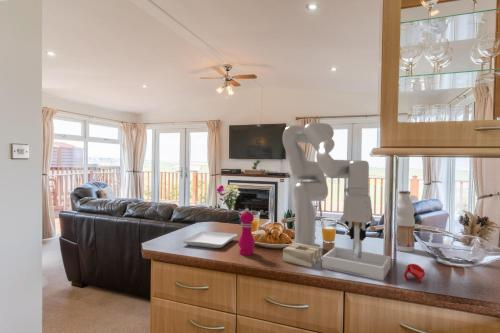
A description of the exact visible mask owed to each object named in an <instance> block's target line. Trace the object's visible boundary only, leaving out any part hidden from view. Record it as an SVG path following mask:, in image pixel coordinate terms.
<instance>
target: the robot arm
mask: <svg viewBox="0 0 500 333" xmlns="http://www.w3.org/2000/svg"><path fill="white" fill-rule="evenodd" d="M333 138H334V128H333V127H332V125H330V124H329V123H325V122H317V121H316V122H315V121H314V122H308V123H306V125H298V124H297V125H296V124H294V125H289V126H287V127H285V129H284V130H283V133H282V145H283V148H284V150H285V153H286V155H287V158H288V164H289V167H290V170H291V171H290V172H291V174H292V177H293V179H295V180H297V181H301V182H297V183H295V185H294V186H293V198H294V208H295V209H294V210H295V211H294V212H295V213H294V215H295V216H294V242H295V243H299V244H305V245H310V246H316V247H319V245H318V244H317V243H316V242H315V240H316V239H317V237H316V208H315V206H314V205H313V202H315V201H318V202H319V201H324V200H326V199H327V197H328V195H329V187H328V184H327V183H328V182H327V179H326V176H327V177H328V178H330V179H347V186H348V187H347V188H343V189H344V190H343V191H344V192H345V193H347V194H346V195H345V197H344V201H343V202H344V203H343V211H342V216H341V217H340V222H342V223H344V224H345V225H346V226H347V227H348V229H349V232H348V234H349V235H348V236H349V237H350V240H353V222H361V223H362V230H361V241H362V242H363V241H364V240H365V239H367V238H366V237H367V229H369V228H370V227H373V226H375V225H376V224H377V221H376V220H375V218H374V216H373V207H372V199H371V195H369V187H370V186H369V182H370V181H369V180H370V178H369V177H370V174H369V172H370V164H369V162H368V161H367V160H361V159H360V160H350V159H334V158H333V157H332V155H330V153H331V152H332V150H333V149H334V148H335V140H334V139H333ZM300 143H302V144H303V143H304V144H311V146H312V147H313V148H314V150H315V151H316V161H315V160H307V156H306V154H305V150H304V149H303V148H302V146H301V145H300ZM325 175H326V176H325Z"/></svg>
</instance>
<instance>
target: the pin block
mask: <svg viewBox="0 0 500 333" xmlns="http://www.w3.org/2000/svg"><path fill="white" fill-rule="evenodd" d="M291 244H292V243H291ZM291 244H290V245H288V246H286V247H285V248H283V249H282V262H285V263H289V264H292V265H293V264H294V265H299V266H303V267H308V268H312V267H313V266H314V265H315V264H317V263H318V262H320V261H322V247H321V246H318V247H316V246H310V245H305V244H299V243H294V244H292V245H291Z"/></svg>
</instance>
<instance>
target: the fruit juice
mask: <svg viewBox="0 0 500 333" xmlns="http://www.w3.org/2000/svg"><path fill="white" fill-rule="evenodd" d="M398 195H399V196H398V198H397V201H398V209H397V223H398V228H397V250H396V251H398V252H399V251H400V252H404V253H405V252H406V253H407V252H408V253H413V252H414V250H415V242H416V241H415V237H416V236H415V237H414V235H413V231H415V232H416V230H415V229H416V220H415V216H414V215H415V213H416V212H415V211H416V208H415V207H414V204H413V202H412V200H411V197H410V195H411V191H410V190H399V191H398Z"/></svg>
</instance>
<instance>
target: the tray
mask: <svg viewBox="0 0 500 333" xmlns="http://www.w3.org/2000/svg"><path fill="white" fill-rule="evenodd" d="M391 259H392V258H391V256H389V255H385V254H381V253H380V254H378V253H374V252H367V251H362V254H361V258H360V259H357V258H353V249H348V248H342V247H337V246H335V247H333V248H332V249H330V250H329V251H327V252H326V253H325V254H323V255H321V268H322V269H326V270H331V271H336V272H339V273H345V274H349V275H355V276H358V277H365V278H367V279H368V278H369V279H374V280H378V281H382V282H383V281H384V279H386V276H387V274H388V273H389V271H390V269H391Z"/></svg>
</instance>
